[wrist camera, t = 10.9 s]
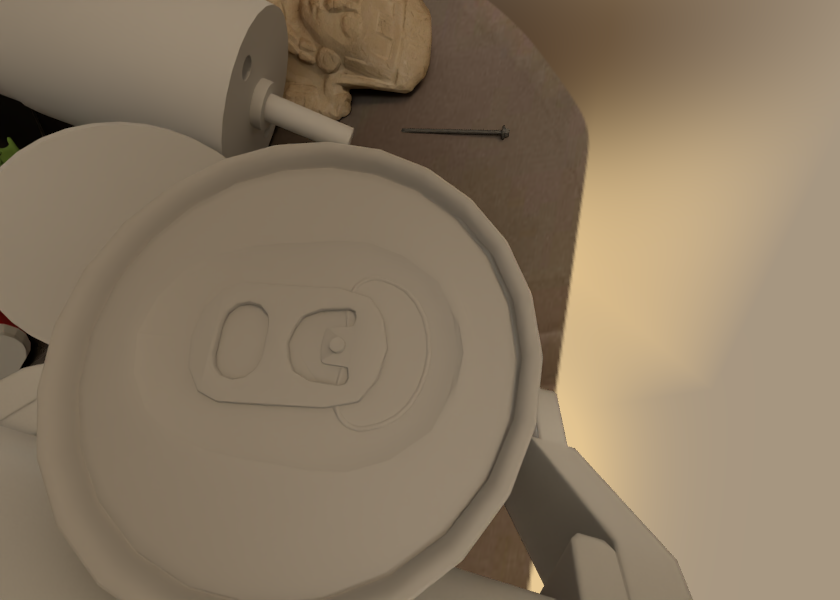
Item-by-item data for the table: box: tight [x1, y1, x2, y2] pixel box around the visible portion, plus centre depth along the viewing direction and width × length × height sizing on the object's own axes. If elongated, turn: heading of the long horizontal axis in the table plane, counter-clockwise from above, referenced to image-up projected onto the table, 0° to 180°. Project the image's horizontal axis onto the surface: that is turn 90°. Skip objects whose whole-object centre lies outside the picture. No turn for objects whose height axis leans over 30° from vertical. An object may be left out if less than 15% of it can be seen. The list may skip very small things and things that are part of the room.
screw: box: [401, 125, 509, 140], centre depth 29 cm, size 8×1×1 cm
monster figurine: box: [0, 122, 226, 344], centre depth 22 cm, size 12×12×10 cm
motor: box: [0, 0, 354, 158], centre depth 21 cm, size 30×10×10 cm, turn 76°
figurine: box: [266, 0, 432, 120], centre depth 28 cm, size 13×7×20 cm
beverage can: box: [37, 142, 543, 600], centre depth 9 cm, size 5×5×12 cm
